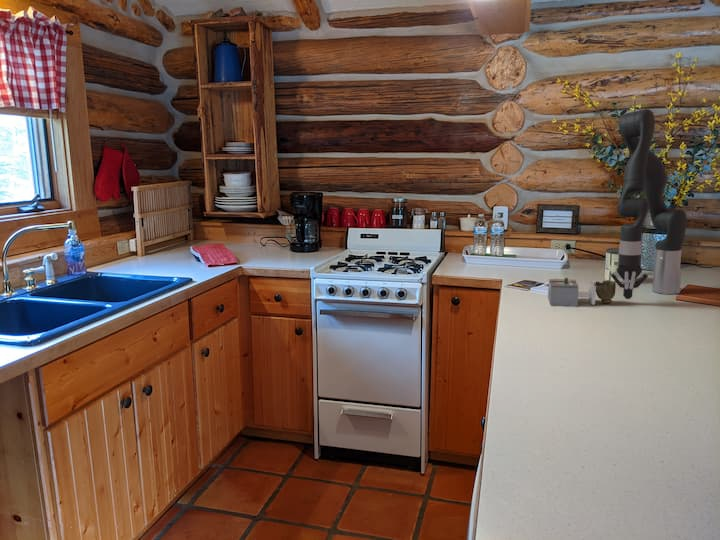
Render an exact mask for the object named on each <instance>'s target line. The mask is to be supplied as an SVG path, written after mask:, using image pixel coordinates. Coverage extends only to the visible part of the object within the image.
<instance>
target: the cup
mask: <svg viewBox="0 0 720 540" xmlns="http://www.w3.org/2000/svg"><path fill="white" fill-rule="evenodd" d="M604 280H605V279H603V280H602V282H600V281H599V280H598V281H595V282H593V283H594V285H595V286H596V296H597V298H598V299H599V300H600V302H601V304H604V305H607V304H611V303H612V301H613V300H612V299H613V298H614V297H615V295H616V285H617V284H616V282H615V281H614V282H613V281H611V282H610V281H609V280H607V281H604Z"/></svg>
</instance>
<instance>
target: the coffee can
mask: <svg viewBox="0 0 720 540" xmlns="http://www.w3.org/2000/svg"><path fill="white" fill-rule="evenodd" d="M618 259H619V247H612V248H611V247H610V248H606V249H605V262H604V263H605V269H604V270H605V271H604V279H603V280H604V281H607V280H609V281H610V282H611V281H613V282H614V281H615V280H614V279H613V278H612V277H611V275H610V274H611V273H614V272H615V271H616V269H617V268H618ZM617 279H618V280H619V281H620V282H621V283H622V284H623V279H622V278H621V277H620V275H619V274H618V278H617ZM628 283H629V280H628ZM616 285H618V284H617V283H616Z"/></svg>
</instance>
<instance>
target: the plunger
mask: <svg viewBox="0 0 720 540" xmlns="http://www.w3.org/2000/svg"><path fill="white" fill-rule="evenodd" d="M569 279H570V278H568V282H569ZM594 283H595V282H592V281H590V282H589V283H588V284H589V288H588V291H578V298H587V299H588V301H589V303H590V305H591V306H596V296H597V294H596V286H595V285H594Z"/></svg>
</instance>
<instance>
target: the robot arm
mask: <svg viewBox="0 0 720 540" xmlns="http://www.w3.org/2000/svg"><path fill="white" fill-rule="evenodd" d="M655 126H656V119H655V115H654V113H653V111H652V110H651V109H648V108H646V109H645V108H644V109H639V110H635V111H630V112H627V113H624V114H621V115H620V117H619V119H618V129H619V132H620V134H621V137H622V139H623V141H624V143H625V145H626V147H627V149H628V150H627V151H629V154H630V155H631V156H630V157H629V159H628V161H627V163H626V165H625V168H624V174H623V186H622V190H621V194H620V197H619V199H618V201H617V204H616V206H615V207H616V208H615V210H616V214H617V215H618V216H619V217H620V218H636V220H635V221H634V222H629V223H624V224H622V225H621V227H620V240H619V246H618V248H619V259H618V268H617V269H616V271H615V272H614V273H611V274H610V275H611V277H612V278H613V279H614V280H615V282H616V283H617V284H616V285H618V287H619V288H622V289H623V298H624V299H626V300H631V299H632V298H633V290H634V289H636V288H637V289H638V288H639V287H640V286H641V285H642V284H643V283H644V281H646V279H648V276H649V275H648V274H647V273H645V272H643V269H642V254H643V253H642V252H643V250H642V248H643V245H642V237H643V227H644V223H645V220H646V217H647V215H648V212H649V215H650V220H651V222H652V226H653V228H654V229H656V230H657V231H660V232H664V233H666V235H665V236H666V237H665V238H664V239H661V240H657V241H656V242H655V247H654V248H655V249H654V259H653V260H654V261H653V275H652V289H651V292H653V293H657V294H663V295H666V294H667V295H668V294H669V295H674V294H680V293H681V282H682V280H681V279H682V269H681V263H682V262H681V259H682V248H683V244H684V242H685V237H686V231H687V223H688V222H687V219H688V218H687V213H686V212H685V210H682V209H681V208H680V209H678V208H670V207H667V206H666V202H665V200H664V192H665V189H666V187H667V183H668V175H667V171H666V168H665V165H664V163H663V161H662V160H661V159H660V158H659V156H657V155H656V154H655V153H653V152H652V151H651V150H650V149H651V145H652V141H653V137H654V132H655V128H656V127H655ZM640 192H641V193H642V192H644V196H645V197H630V196H631V195H633V194H637V193H640ZM618 274H619V275H620V277H621V278H622V279H623V284H622V283H621V282H620V281H619V280H618V279H617V278H618ZM638 277H639V278H638ZM637 278H638V279H637ZM636 279H637V280H636ZM628 280H629V283H628ZM635 280H636V281H635Z"/></svg>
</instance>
